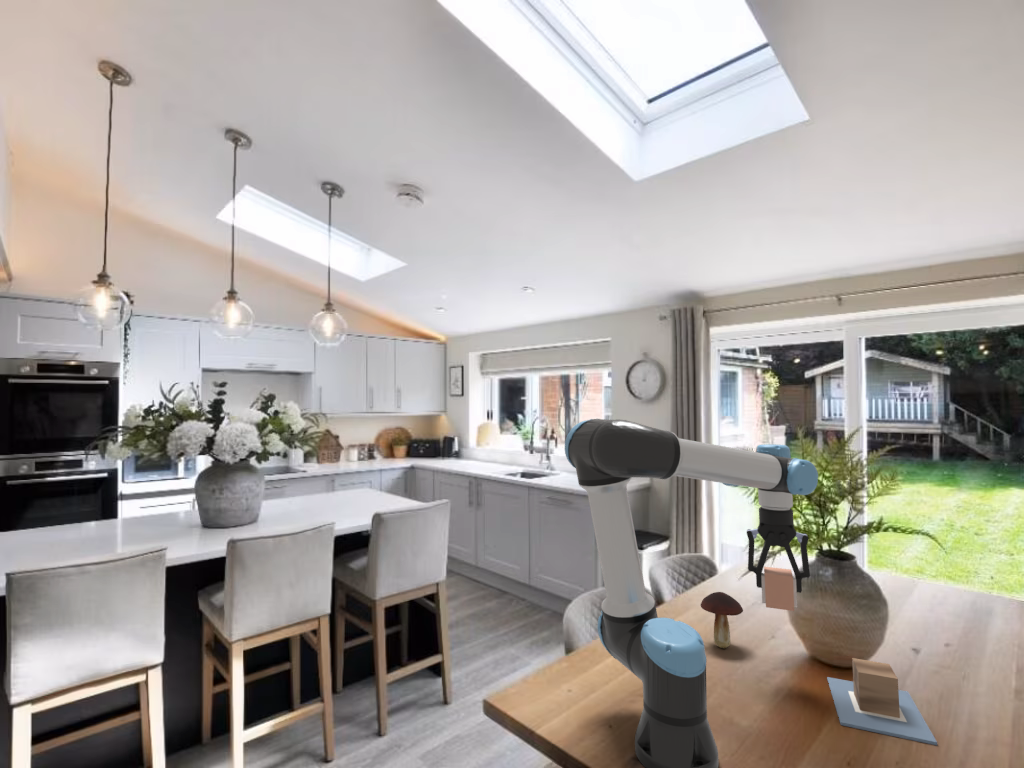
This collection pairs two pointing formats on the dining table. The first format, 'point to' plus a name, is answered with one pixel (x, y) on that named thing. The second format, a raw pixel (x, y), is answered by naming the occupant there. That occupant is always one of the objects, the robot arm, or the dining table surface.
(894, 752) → the dining table surface
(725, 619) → the decorative mushroom
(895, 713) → the walnut block
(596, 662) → the dining table surface
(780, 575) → the terracotta block
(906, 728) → the board
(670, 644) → the robot arm
